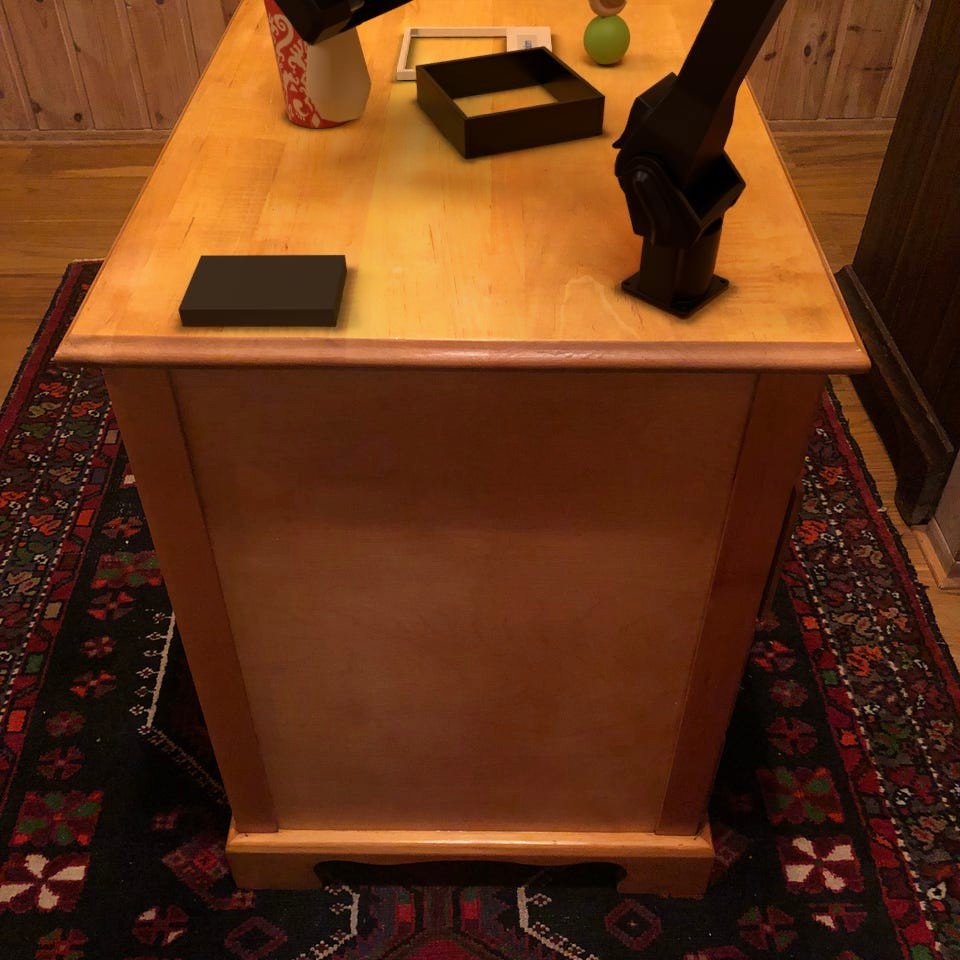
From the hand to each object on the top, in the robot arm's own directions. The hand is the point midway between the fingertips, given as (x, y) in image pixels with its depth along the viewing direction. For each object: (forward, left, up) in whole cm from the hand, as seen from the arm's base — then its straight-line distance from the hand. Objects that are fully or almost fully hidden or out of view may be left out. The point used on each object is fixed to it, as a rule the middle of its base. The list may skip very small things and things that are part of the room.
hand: (320, 34), depth 83 cm
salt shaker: (0, -1, -7) cm, 7 cm away
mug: (+10, +14, -13) cm, 22 cm away
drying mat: (-18, -12, -13) cm, 25 cm away
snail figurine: (+40, -1, -13) cm, 42 cm away
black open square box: (+21, -3, -13) cm, 25 cm away
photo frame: (+32, +12, -13) cm, 36 cm away
